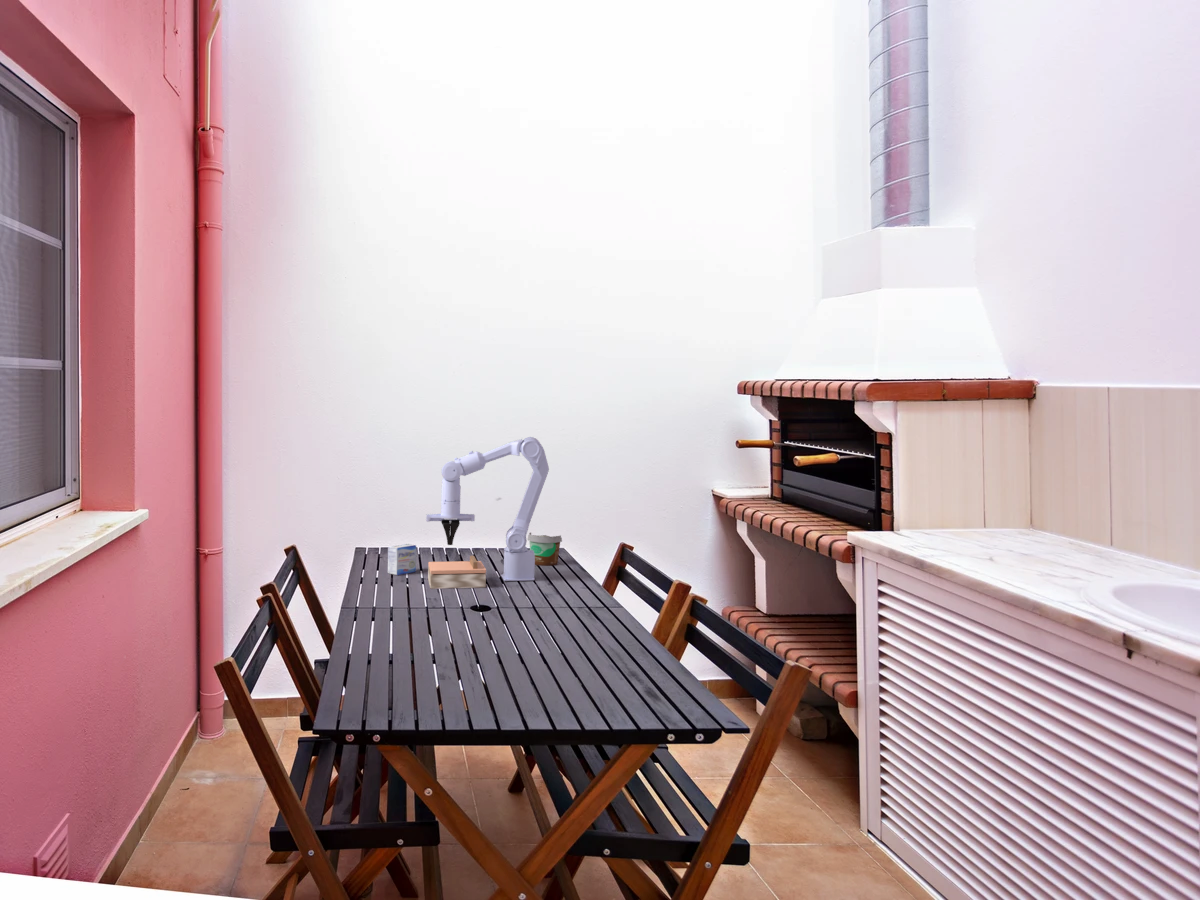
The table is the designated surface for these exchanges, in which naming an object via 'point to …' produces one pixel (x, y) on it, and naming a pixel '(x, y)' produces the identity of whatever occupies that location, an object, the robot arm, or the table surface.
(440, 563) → the sliding lid
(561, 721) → the table surface
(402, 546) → the medicine box
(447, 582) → the storage case
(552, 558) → the food container
